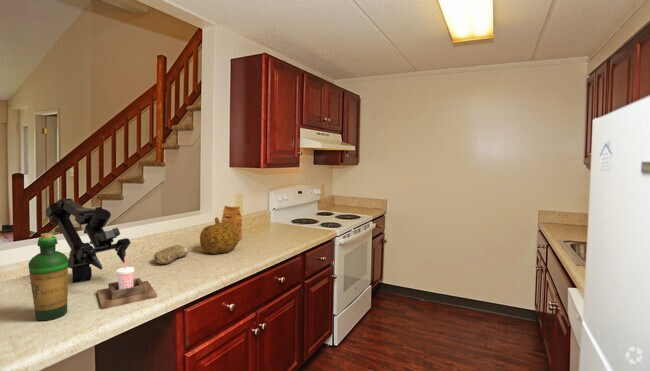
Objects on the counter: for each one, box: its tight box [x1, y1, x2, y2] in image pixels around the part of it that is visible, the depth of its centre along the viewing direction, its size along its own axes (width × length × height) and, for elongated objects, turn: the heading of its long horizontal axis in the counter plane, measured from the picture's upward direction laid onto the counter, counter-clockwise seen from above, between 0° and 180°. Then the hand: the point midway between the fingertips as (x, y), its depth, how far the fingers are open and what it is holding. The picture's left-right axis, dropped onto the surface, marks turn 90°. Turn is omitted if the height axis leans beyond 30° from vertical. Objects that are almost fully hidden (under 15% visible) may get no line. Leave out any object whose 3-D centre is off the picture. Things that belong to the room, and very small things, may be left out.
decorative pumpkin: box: [199, 216, 240, 255], centre depth 200 cm, size 20×21×20 cm
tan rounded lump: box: [153, 244, 189, 265], centre depth 183 cm, size 13×8×20 cm
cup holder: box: [96, 277, 158, 310], centre depth 137 cm, size 18×18×4 cm
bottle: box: [27, 232, 69, 321], centre depth 119 cm, size 11×11×28 cm
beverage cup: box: [116, 255, 135, 290], centre depth 137 cm, size 6×6×14 cm
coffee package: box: [221, 205, 243, 240], centre depth 227 cm, size 10×12×22 cm
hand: (113, 265), depth 141 cm, fingers open, 9 cm apart
